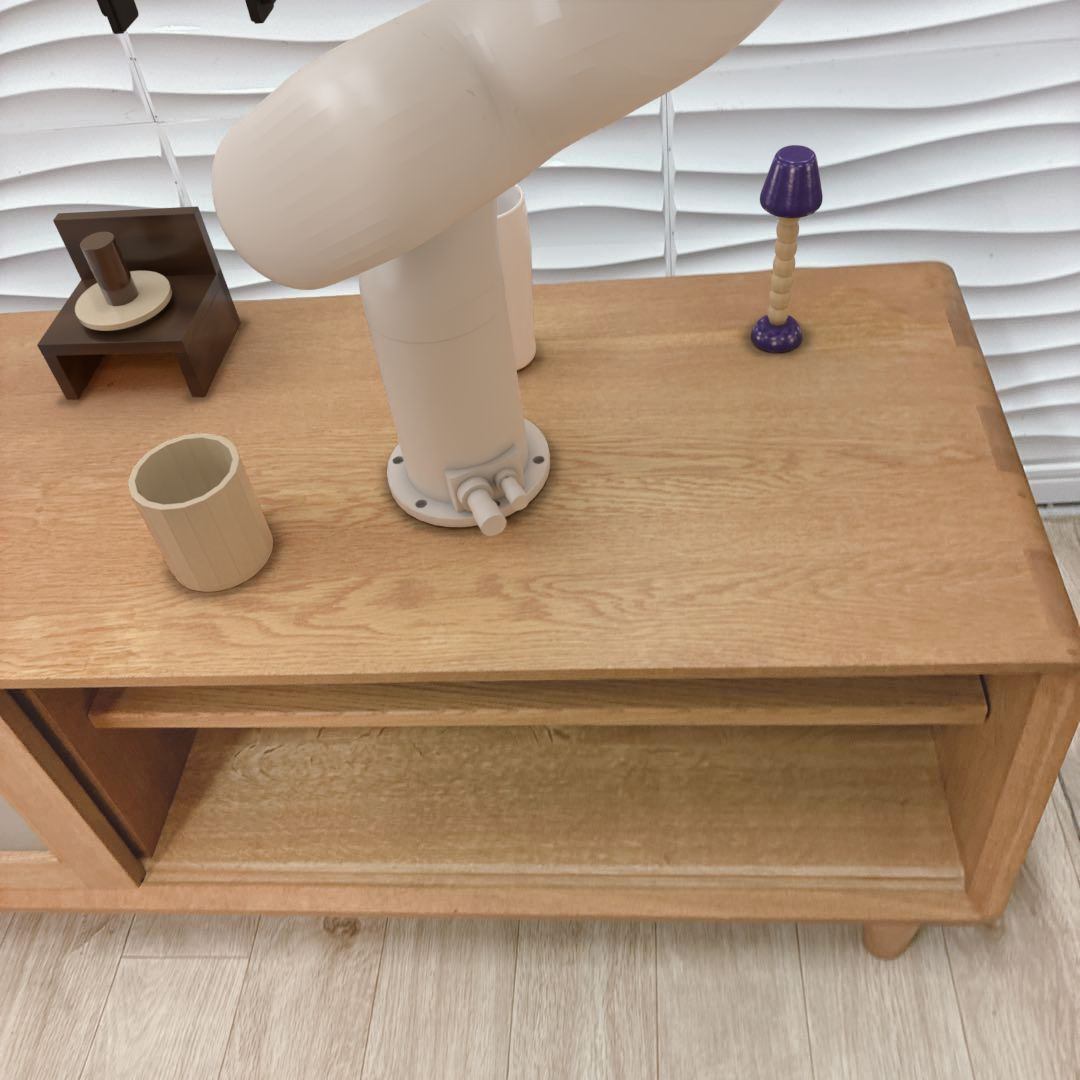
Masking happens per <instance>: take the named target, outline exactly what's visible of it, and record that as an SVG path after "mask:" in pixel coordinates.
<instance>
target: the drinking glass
mask: <svg viewBox="0 0 1080 1080" xmlns="http://www.w3.org/2000/svg"><path fill="white" fill-rule="evenodd" d="M497 227H498V239H499V250H500V258H501V265H502V272H503V279H504V286H505V296H506V303H507V310H508V316H509V323H510V330H511V336H512V343H513V350H514V356H515V363H516V370H517V371H519V370H521V369H524V368H525V367H526V366H528V365H530V363H531V362H532V361H533V360H534V358H535V356H536V352H537V341H536V334H535V318H534V316H535V315H534V314H535V313H534V289H533V287H534V285H533V283H534V281H533V255H532V254H533V253H532V251H533V249H532V237H531V228H530V227H531V226H530V218H529V213H528V208H527V202H526V196H525V192H524V189H523V188H522V187H521V186H520V185H519V184H516V185H515V186H513V187H512V188H510V189H509V190H507V191H506V192H504V193H502V194H501V195H499V196H498V197H497Z"/></svg>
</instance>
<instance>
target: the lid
mask: <svg viewBox="0 0 1080 1080" xmlns="http://www.w3.org/2000/svg"><path fill="white" fill-rule="evenodd" d="M80 247H81V249H82V251H83V253H84V255H85V258H86V260H87V262H88V264H89V266H90V268H91V270H92V272H93V275H94V277H95V279H96V281H97V283H96V284H94V285H93V286H91V287H90V288H89V289H87V290H86V291H85V292H84V293H83V294H82V295H81V296H80V297H79V299H78V301H77V302H76V305H75V313H76V316H77V318H78V320H79V321H80V323H81V324H83V325H84V326H86V327H87V328H90V329H94V330H100V331H112V330H120V329H124V328H128V327H132V326H135V325H137V324H140V323H142V322H144V321H146V320H148V319H150V318H152V317H153V316H155V315H156V314H158V313H159V312H160V311H161V310H163V309H164V308H165V306H166V305H167V304H168V303H169V301H170V299H171V296H172V288H171V285H170V283H169V281H168V279H167V278H166V277H164V276H163V275H161V274H159V273H156V272H152V271H129V269H128V267H127V264H126V262H125V260H124V258H123V255H122V253H121V251H120V248H119V246H118V244H117V242H116V239H115V237H114V235H113V234H112V233H110V232H97V233H94V234H91V235H89V236H87V237H86V238H84V239H83V240H82V241H81V243H80Z"/></svg>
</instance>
